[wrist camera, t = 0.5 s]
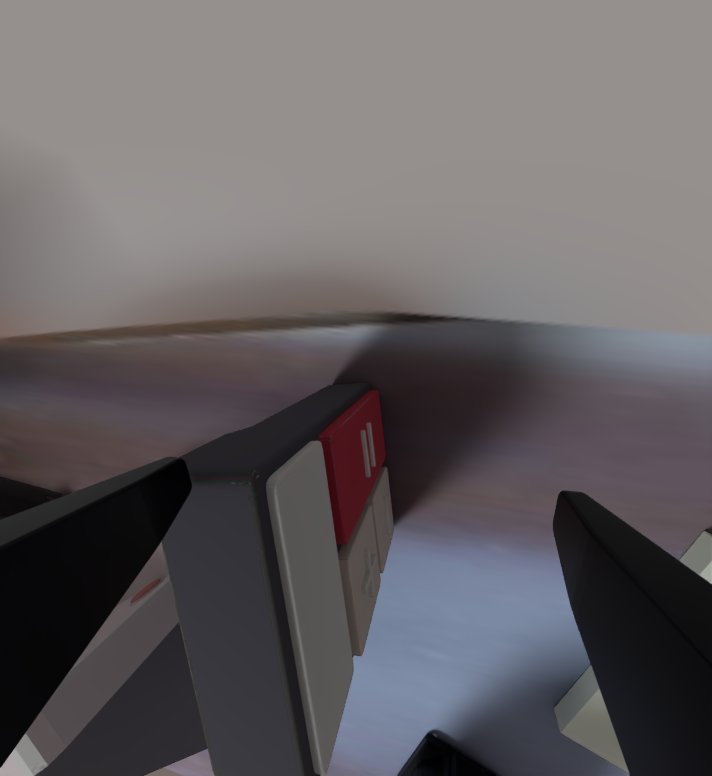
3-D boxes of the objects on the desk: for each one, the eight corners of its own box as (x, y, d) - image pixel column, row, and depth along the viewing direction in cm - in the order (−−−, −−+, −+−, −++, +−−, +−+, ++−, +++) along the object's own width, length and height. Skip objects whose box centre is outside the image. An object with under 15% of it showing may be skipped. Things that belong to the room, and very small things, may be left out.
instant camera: (218, 463, 28) (-22, 612, 14) (329, 684, 29) (216, 1034, 15) (56, 533, 34) (-225, 685, 20) (152, 712, 35) (-47, 977, 21)
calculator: (399, 531, 25) (335, 817, 10) (341, 529, 26) (213, 785, 12) (382, 379, 23) (278, 471, 9) (321, 384, 24) (142, 474, 10)
